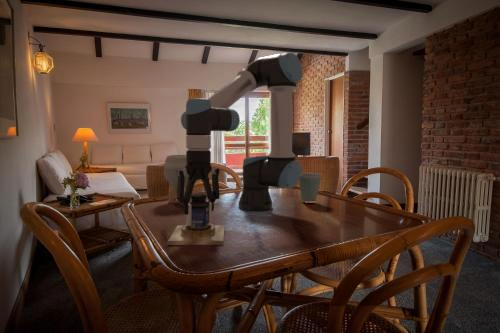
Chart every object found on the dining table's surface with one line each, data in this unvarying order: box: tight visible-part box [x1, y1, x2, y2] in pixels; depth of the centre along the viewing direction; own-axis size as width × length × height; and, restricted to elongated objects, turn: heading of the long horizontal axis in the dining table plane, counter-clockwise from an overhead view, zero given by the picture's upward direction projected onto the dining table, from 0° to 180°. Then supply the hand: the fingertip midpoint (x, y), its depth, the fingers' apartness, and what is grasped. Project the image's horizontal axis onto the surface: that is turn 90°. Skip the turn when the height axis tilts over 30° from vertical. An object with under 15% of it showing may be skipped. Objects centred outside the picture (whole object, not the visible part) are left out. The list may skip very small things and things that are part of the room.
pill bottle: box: [189, 193, 209, 231], centre depth 98 cm, size 6×6×11 cm
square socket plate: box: [167, 222, 226, 246], centre depth 99 cm, size 16×16×3 cm
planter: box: [163, 154, 193, 204], centre depth 150 cm, size 16×16×22 cm
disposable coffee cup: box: [299, 172, 322, 202], centre depth 152 cm, size 11×11×15 cm
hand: (198, 222), depth 99 cm, fingers closed on pill bottle, 6 cm apart
